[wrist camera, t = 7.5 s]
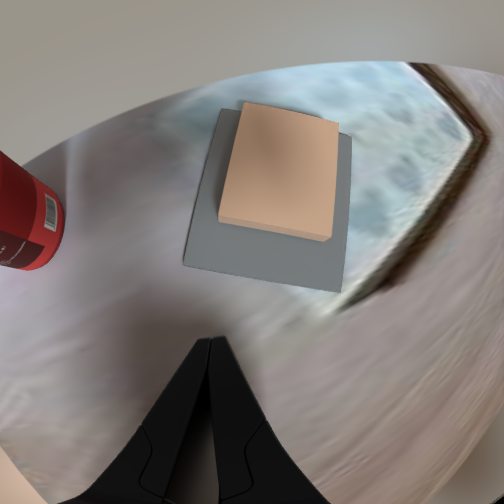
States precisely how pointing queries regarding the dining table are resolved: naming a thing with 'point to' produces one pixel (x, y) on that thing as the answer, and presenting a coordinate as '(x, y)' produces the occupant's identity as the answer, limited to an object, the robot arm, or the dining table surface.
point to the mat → (260, 241)
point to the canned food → (27, 218)
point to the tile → (282, 173)
